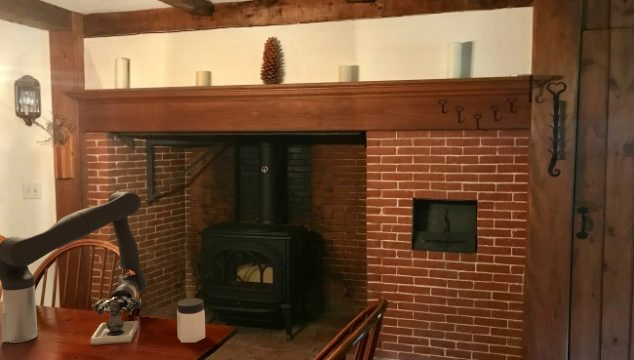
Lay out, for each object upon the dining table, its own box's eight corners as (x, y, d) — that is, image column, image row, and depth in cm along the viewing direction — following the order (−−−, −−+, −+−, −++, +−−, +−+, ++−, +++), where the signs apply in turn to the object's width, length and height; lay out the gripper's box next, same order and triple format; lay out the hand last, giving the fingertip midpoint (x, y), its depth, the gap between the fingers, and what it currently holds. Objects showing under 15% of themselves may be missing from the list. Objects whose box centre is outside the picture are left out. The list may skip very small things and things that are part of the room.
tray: (90, 344, 165) (90, 338, 165) (101, 328, 179) (101, 323, 179) (130, 342, 167) (130, 336, 167) (138, 326, 181) (137, 320, 181)
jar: (208, 340, 168) (207, 303, 167) (182, 345, 164) (181, 308, 164) (199, 331, 176) (198, 296, 175) (175, 335, 172) (174, 300, 171)
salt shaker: (112, 338, 169) (110, 301, 168) (102, 334, 173) (100, 298, 172) (128, 332, 174) (127, 297, 173) (118, 328, 177) (117, 294, 176)
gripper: (102, 287, 186) (90, 301, 170) (144, 285, 188) (136, 298, 172) (103, 307, 187) (91, 323, 171) (145, 305, 189) (137, 321, 173)
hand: (113, 311), depth 172 cm, fingers open, 8 cm apart
